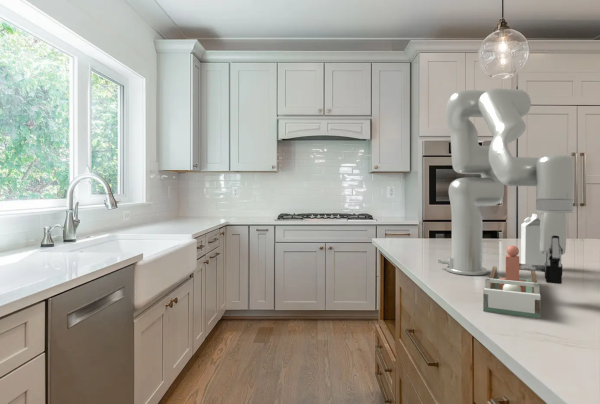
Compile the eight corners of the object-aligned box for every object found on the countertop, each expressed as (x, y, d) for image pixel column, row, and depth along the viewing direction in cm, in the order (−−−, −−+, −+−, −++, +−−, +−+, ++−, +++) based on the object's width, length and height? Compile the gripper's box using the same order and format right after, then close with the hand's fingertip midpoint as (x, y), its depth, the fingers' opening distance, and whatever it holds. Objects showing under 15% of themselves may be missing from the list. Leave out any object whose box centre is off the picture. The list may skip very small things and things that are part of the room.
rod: (498, 291, 99) (499, 245, 99) (499, 288, 102) (499, 244, 102) (562, 298, 93) (562, 249, 92) (561, 295, 95) (561, 247, 95)
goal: (483, 306, 88) (483, 283, 88) (485, 300, 93) (485, 277, 93) (540, 314, 82) (540, 288, 82) (539, 306, 88) (539, 283, 87)
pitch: (483, 311, 88) (483, 293, 88) (493, 279, 119) (493, 266, 119) (540, 318, 82) (540, 300, 82) (534, 283, 114) (535, 269, 114)
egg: (502, 297, 97) (502, 297, 94) (503, 280, 98) (502, 280, 94) (521, 299, 95) (521, 299, 92) (521, 282, 96) (521, 282, 92)
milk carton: (543, 266, 138) (543, 213, 138) (548, 270, 131) (549, 214, 131) (520, 265, 140) (521, 213, 140) (525, 269, 134) (525, 214, 133)
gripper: (534, 205, 103) (533, 273, 104) (537, 207, 89) (536, 287, 89) (568, 205, 99) (567, 276, 100) (577, 208, 85) (576, 291, 86)
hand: (553, 280), depth 95 cm, fingers closed on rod, 3 cm apart
